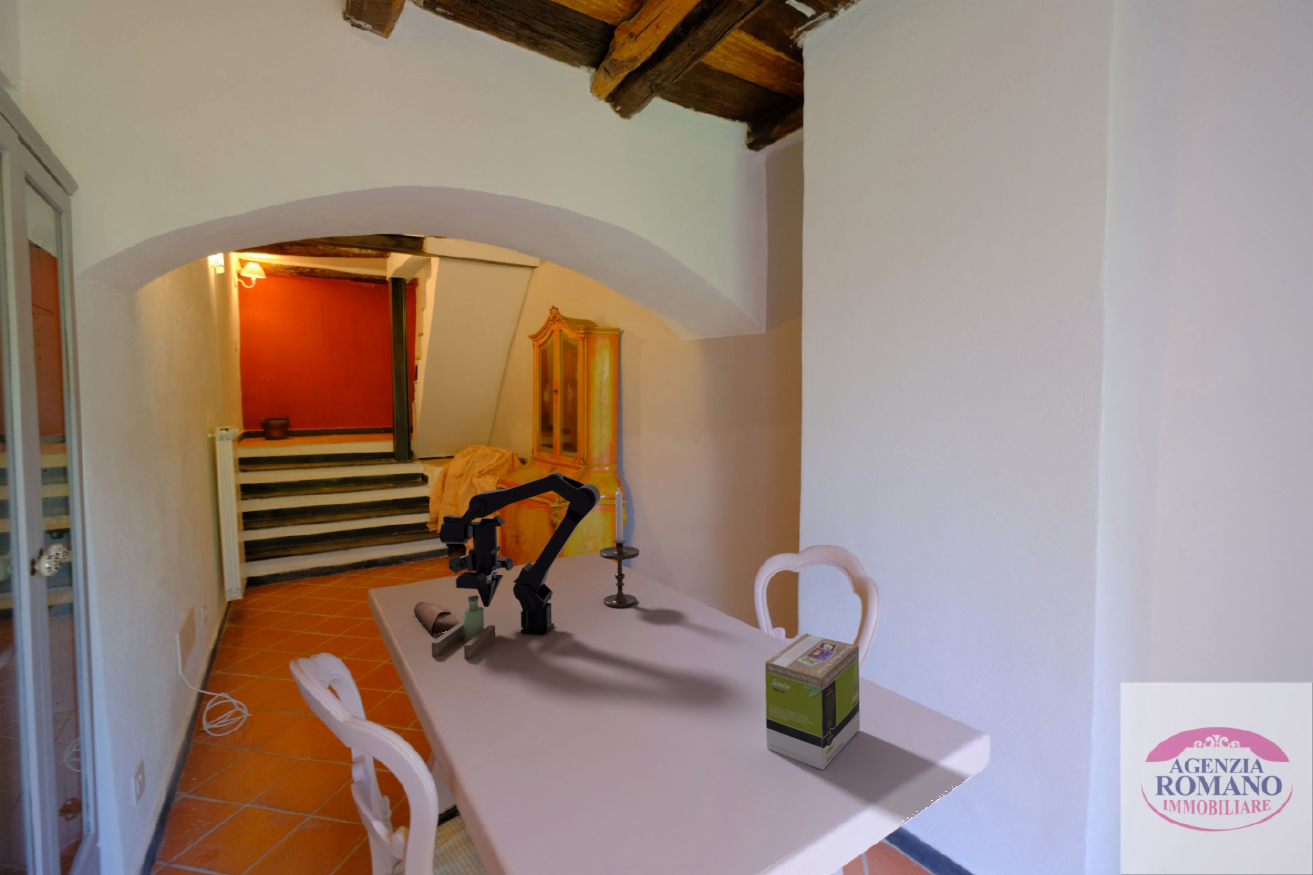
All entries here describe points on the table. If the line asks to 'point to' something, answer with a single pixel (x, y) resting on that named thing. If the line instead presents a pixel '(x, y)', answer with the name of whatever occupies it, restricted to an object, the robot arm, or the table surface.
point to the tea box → (812, 699)
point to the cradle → (458, 633)
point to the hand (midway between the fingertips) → (486, 606)
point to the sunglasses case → (435, 617)
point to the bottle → (473, 619)
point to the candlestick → (619, 559)
